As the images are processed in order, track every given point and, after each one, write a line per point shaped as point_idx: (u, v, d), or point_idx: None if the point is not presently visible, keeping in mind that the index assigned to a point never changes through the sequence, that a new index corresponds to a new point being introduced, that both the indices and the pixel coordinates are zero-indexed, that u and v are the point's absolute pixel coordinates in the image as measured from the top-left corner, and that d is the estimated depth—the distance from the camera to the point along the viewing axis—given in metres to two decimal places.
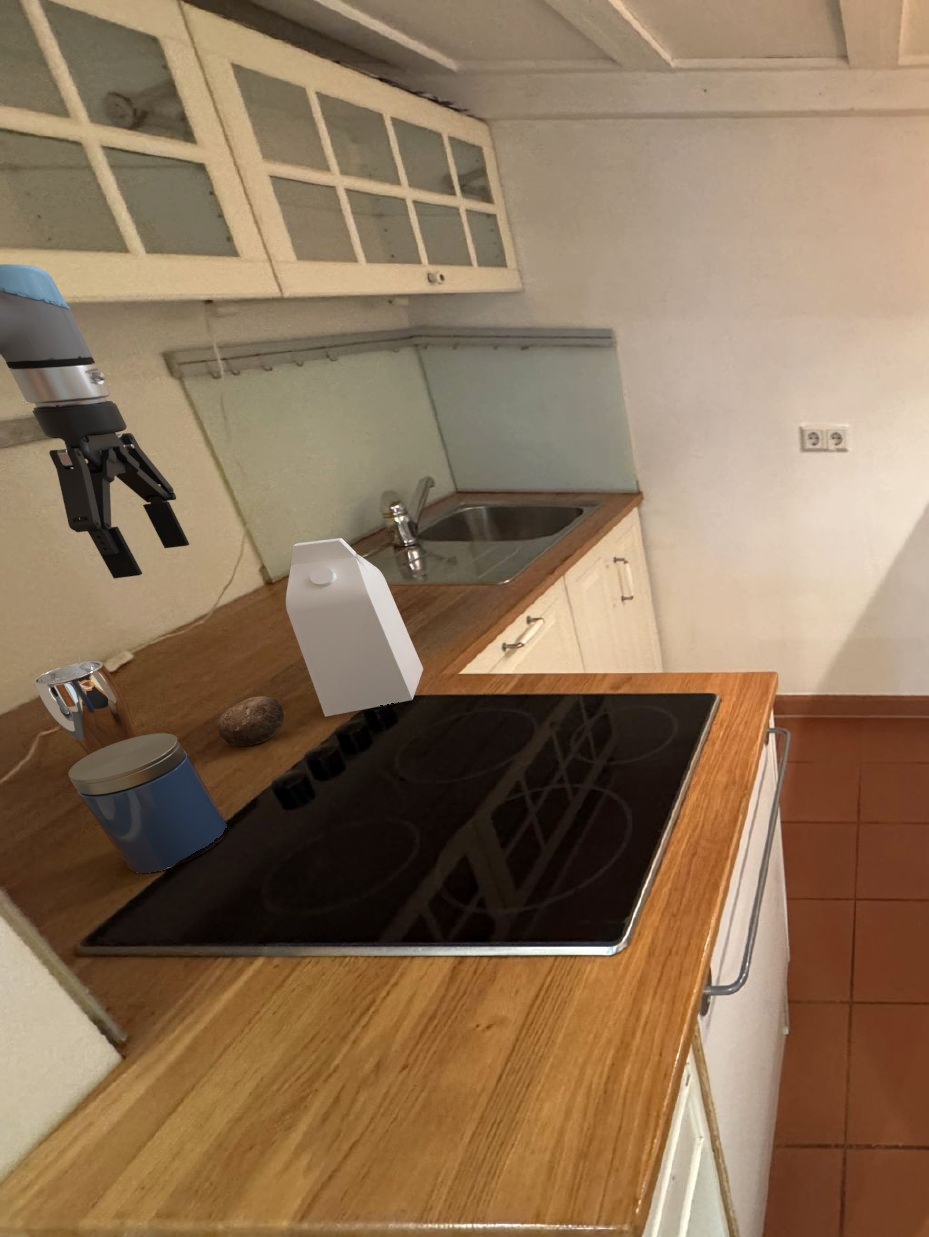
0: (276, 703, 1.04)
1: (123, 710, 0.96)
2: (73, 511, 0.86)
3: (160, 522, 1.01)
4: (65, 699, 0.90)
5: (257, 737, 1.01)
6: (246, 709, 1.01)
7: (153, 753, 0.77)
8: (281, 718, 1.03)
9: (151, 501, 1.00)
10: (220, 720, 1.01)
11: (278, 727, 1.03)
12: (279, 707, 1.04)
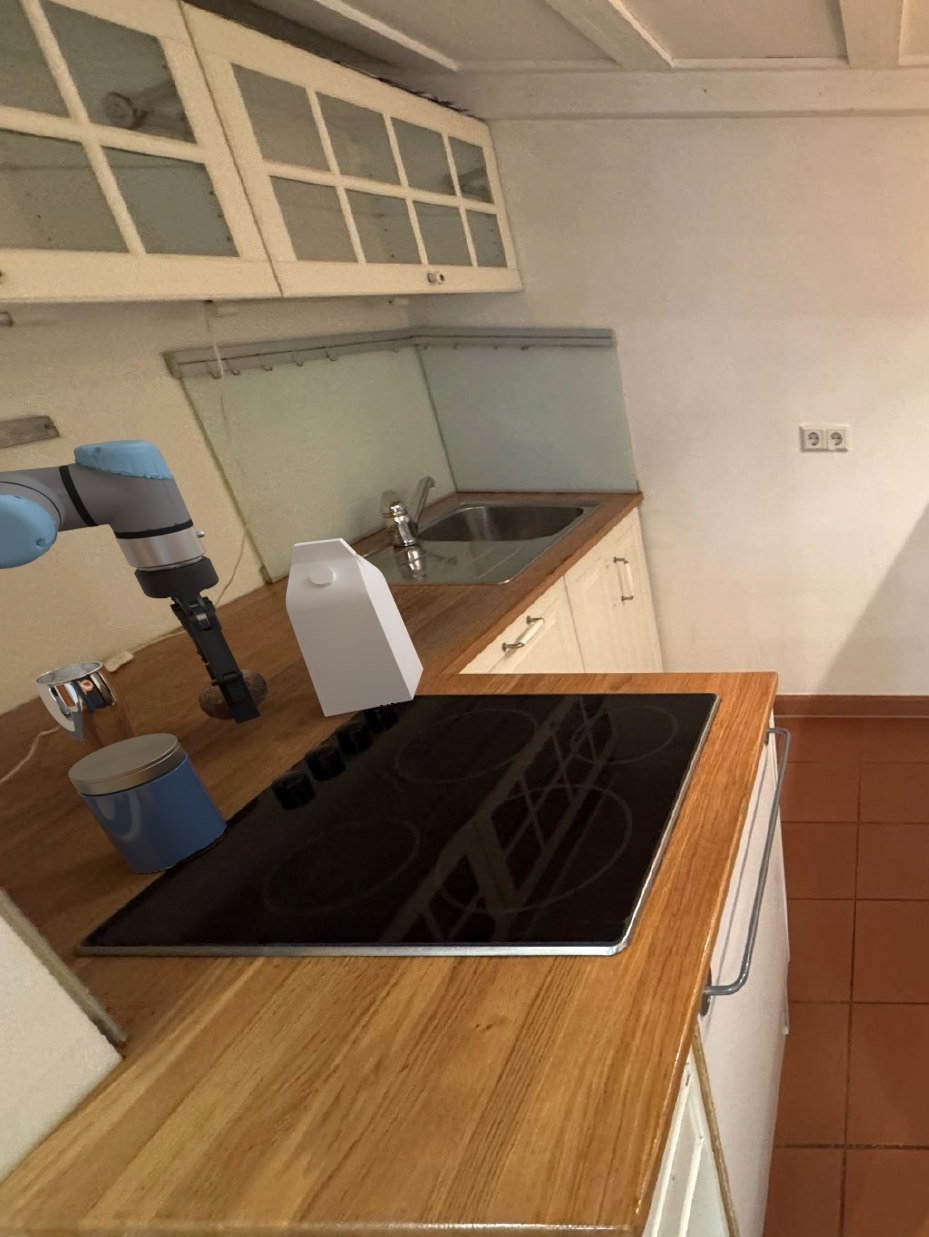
0: (260, 677, 1.01)
1: (123, 710, 0.96)
2: (219, 668, 0.93)
3: None
4: (65, 699, 0.90)
5: None
6: None
7: (153, 753, 0.77)
8: (265, 692, 1.01)
9: None
10: (202, 693, 0.98)
11: (261, 701, 1.01)
12: (263, 681, 1.01)
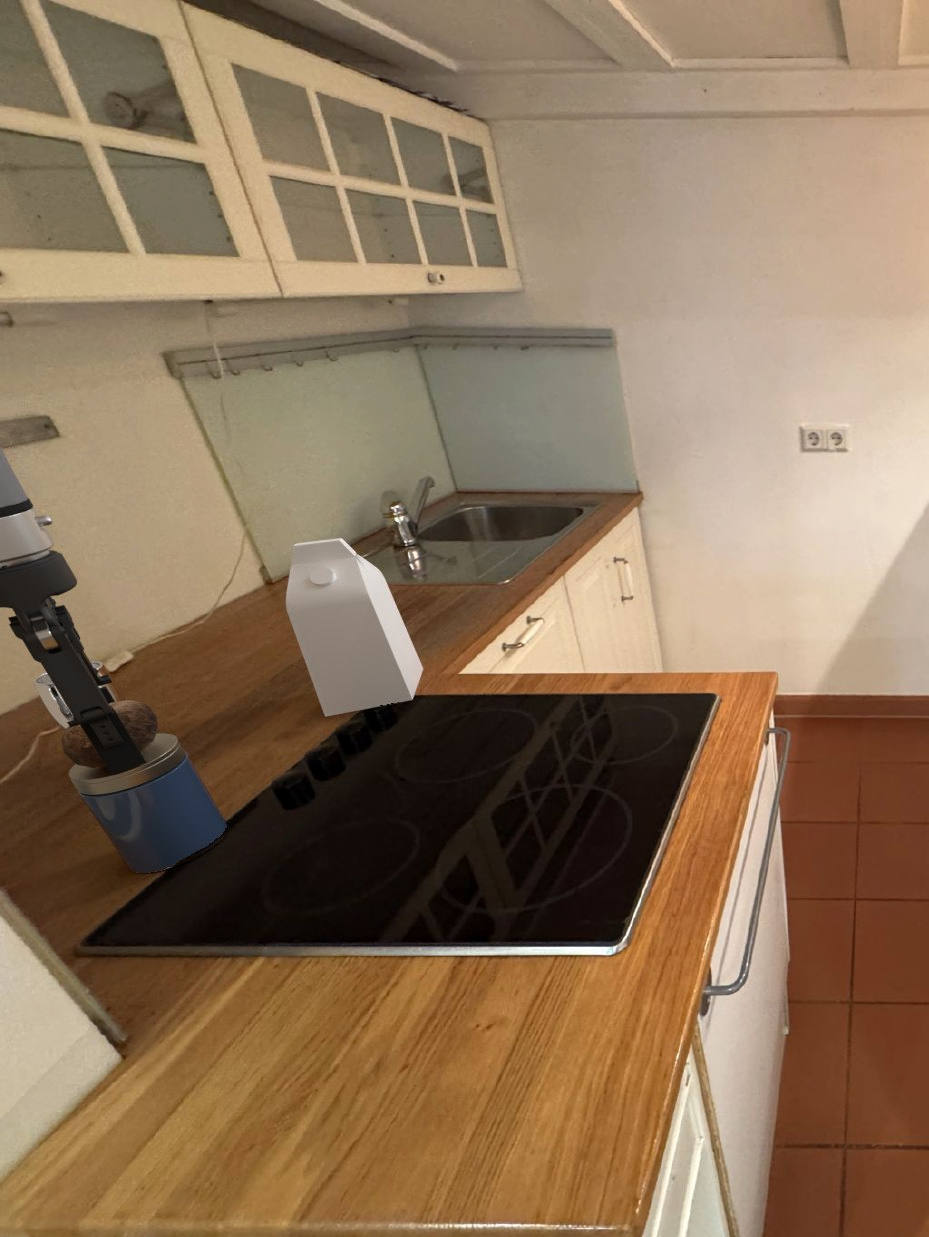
0: (146, 709, 0.77)
1: None
2: (76, 702, 0.68)
3: None
4: None
5: None
6: None
7: (154, 753, 0.77)
8: (153, 730, 0.77)
9: None
10: (65, 733, 0.74)
11: (148, 742, 0.76)
12: (151, 715, 0.77)
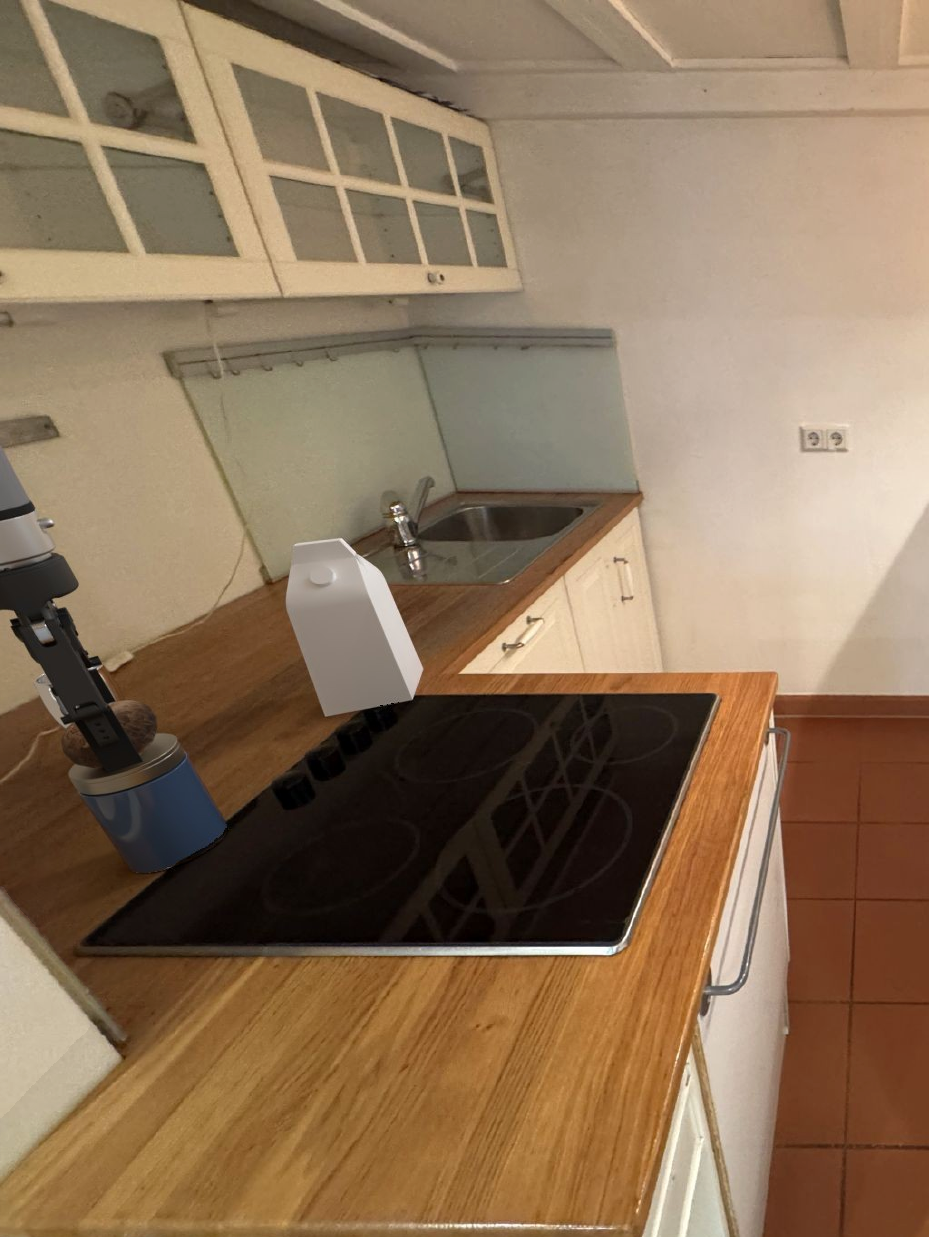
0: (146, 709, 0.77)
1: None
2: (70, 698, 0.67)
3: None
4: None
5: None
6: None
7: (153, 753, 0.77)
8: (152, 730, 0.77)
9: None
10: (64, 733, 0.74)
11: (148, 742, 0.76)
12: (150, 715, 0.77)
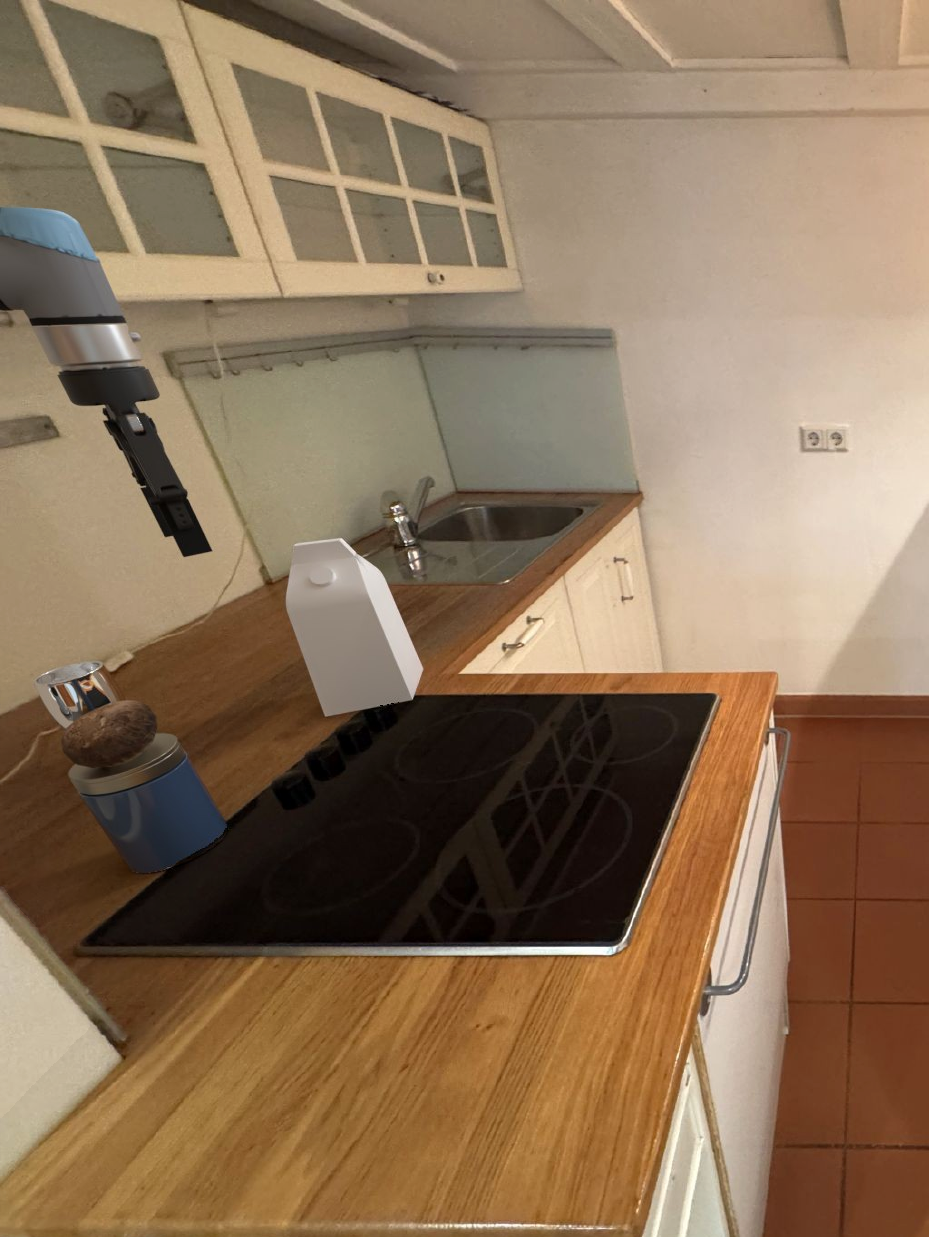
0: (146, 709, 0.77)
1: None
2: (157, 480, 0.79)
3: None
4: (65, 699, 0.90)
5: (116, 756, 0.74)
6: (100, 718, 0.74)
7: (153, 753, 0.77)
8: (152, 730, 0.77)
9: (147, 484, 0.90)
10: (64, 733, 0.74)
11: (148, 742, 0.76)
12: (150, 715, 0.77)
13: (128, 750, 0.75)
